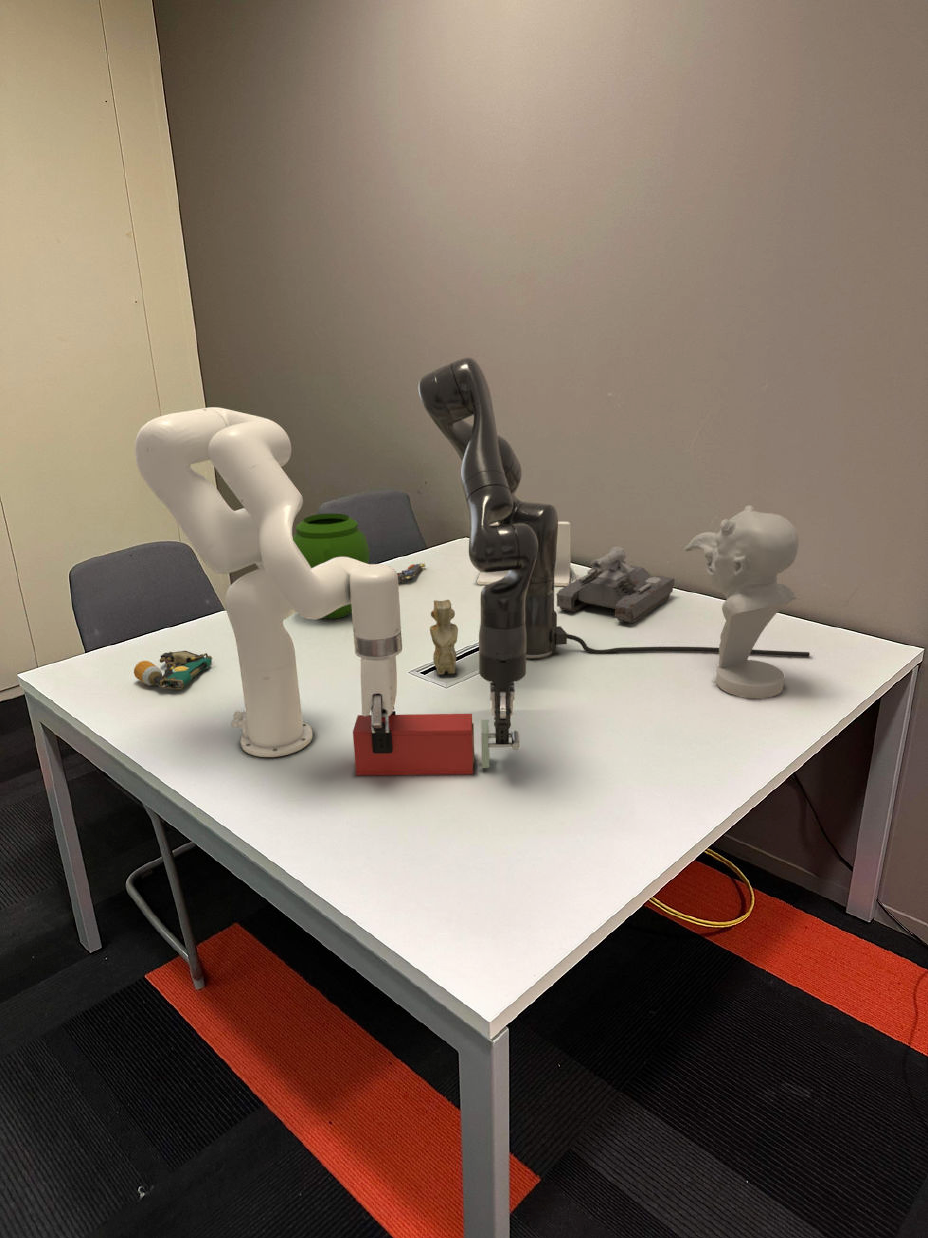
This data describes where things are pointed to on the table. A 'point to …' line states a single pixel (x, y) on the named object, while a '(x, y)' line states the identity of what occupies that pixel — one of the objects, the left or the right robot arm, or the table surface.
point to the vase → (331, 544)
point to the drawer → (486, 745)
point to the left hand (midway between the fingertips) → (384, 741)
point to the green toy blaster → (172, 669)
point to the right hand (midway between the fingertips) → (502, 744)
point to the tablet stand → (560, 567)
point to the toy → (616, 588)
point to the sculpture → (444, 637)
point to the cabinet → (417, 745)
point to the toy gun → (410, 571)
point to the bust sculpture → (748, 593)
